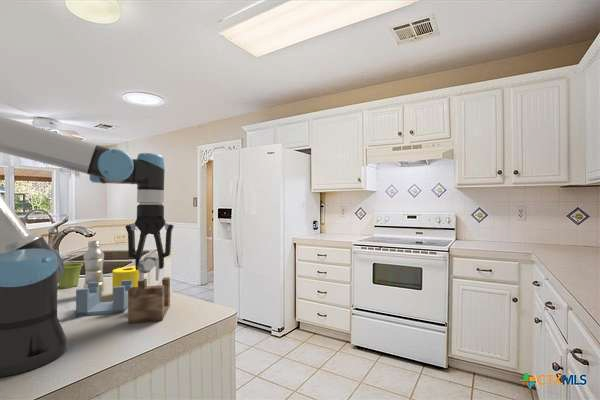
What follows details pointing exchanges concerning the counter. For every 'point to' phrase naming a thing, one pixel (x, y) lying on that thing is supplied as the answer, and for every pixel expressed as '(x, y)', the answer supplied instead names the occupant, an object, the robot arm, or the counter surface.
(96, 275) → the metal bottle
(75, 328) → the counter surface
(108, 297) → the counter surface
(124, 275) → the yellow hollow cylinder
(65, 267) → the plant pot
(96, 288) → the blue notched cradle
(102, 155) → the robot arm
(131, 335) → the counter surface
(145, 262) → the steel axle
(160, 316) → the bearing stand
